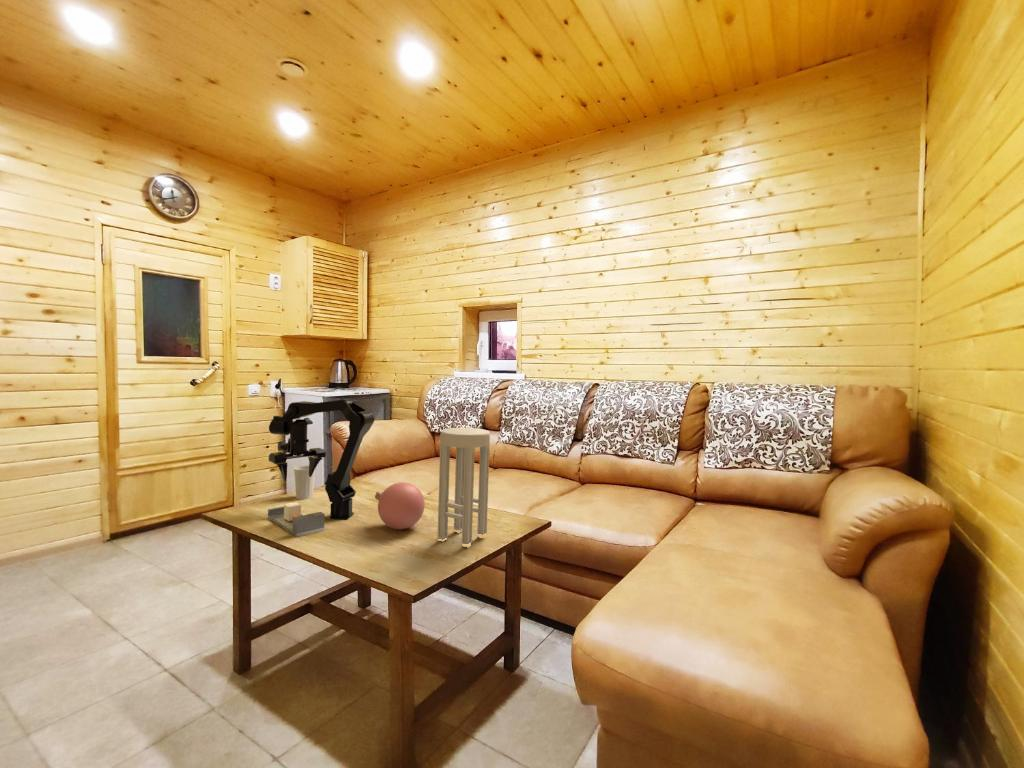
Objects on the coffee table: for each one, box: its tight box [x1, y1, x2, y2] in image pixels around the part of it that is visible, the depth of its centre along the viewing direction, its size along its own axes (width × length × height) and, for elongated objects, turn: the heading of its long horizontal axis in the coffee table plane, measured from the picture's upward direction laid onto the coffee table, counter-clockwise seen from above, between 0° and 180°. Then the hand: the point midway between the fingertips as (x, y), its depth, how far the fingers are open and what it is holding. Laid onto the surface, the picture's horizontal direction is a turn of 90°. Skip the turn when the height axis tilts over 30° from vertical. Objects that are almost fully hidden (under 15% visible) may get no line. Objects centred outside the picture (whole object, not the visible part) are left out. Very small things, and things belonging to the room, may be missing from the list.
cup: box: [293, 465, 317, 501], centre depth 192 cm, size 8×8×12 cm
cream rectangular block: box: [283, 501, 302, 521], centre depth 161 cm, size 9×4×5 cm, turn 47°
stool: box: [437, 427, 491, 544], centre depth 152 cm, size 16×16×35 cm
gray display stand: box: [267, 506, 325, 538], centre depth 161 cm, size 24×9×6 cm, turn 47°
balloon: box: [374, 481, 426, 530], centre depth 162 cm, size 15×20×15 cm
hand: (297, 478), depth 174 cm, fingers open, 9 cm apart
